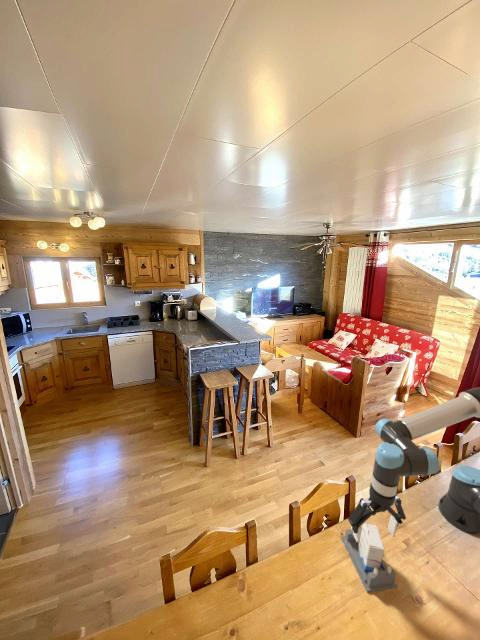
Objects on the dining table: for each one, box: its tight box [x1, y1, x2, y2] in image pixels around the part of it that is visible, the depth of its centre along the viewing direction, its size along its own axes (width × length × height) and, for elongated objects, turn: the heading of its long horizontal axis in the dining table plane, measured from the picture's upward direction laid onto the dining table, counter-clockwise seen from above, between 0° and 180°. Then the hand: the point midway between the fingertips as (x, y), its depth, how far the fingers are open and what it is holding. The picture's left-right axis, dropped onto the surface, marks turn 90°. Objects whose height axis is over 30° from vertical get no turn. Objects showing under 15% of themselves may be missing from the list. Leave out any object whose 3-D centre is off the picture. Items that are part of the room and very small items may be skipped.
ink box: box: [358, 522, 385, 572], centre depth 94 cm, size 8×5×12 cm, turn 171°
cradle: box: [340, 525, 398, 593], centre depth 95 cm, size 11×17×8 cm, turn 8°
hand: (373, 535), depth 93 cm, fingers open, 13 cm apart
